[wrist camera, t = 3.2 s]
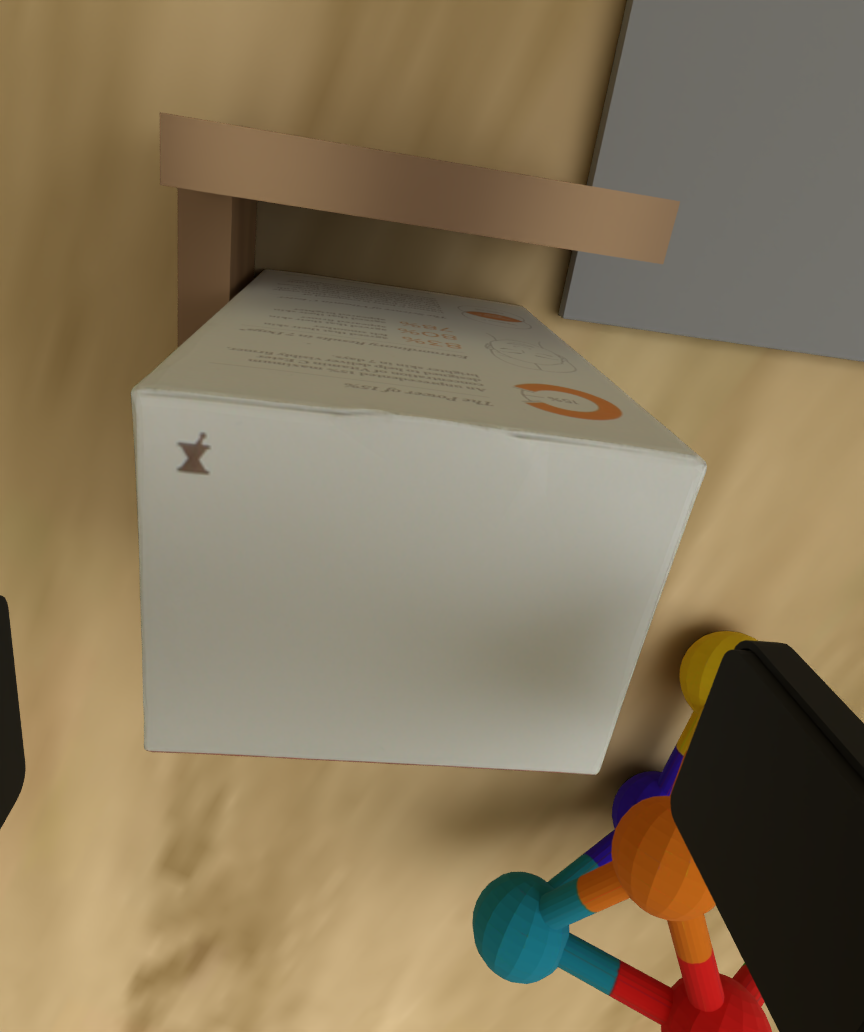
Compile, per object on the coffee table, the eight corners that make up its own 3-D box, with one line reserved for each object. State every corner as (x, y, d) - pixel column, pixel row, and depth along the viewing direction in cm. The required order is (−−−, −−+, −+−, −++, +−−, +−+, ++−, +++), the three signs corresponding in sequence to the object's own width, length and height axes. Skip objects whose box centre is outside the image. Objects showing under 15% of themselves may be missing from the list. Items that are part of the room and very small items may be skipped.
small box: (251, 466, 23) (128, 760, 11) (261, 264, 21) (115, 375, 9) (491, 493, 24) (605, 786, 12) (530, 304, 22) (720, 451, 10)
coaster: (1102, -89, 18) (1124, -97, 18) (906, 365, 23) (919, 369, 23) (670, -197, 17) (679, -210, 16) (558, 315, 22) (562, 318, 21)
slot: (584, 195, 20) (680, 201, 14) (501, 577, 26) (543, 706, 19) (214, 132, 19) (136, 108, 13) (206, 550, 24) (149, 680, 18)
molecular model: (581, 570, 30) (433, 911, 28) (745, 604, 21) (539, 1111, 19) (831, 697, 34) (714, 999, 33) (1058, 771, 25) (910, 1196, 23)
